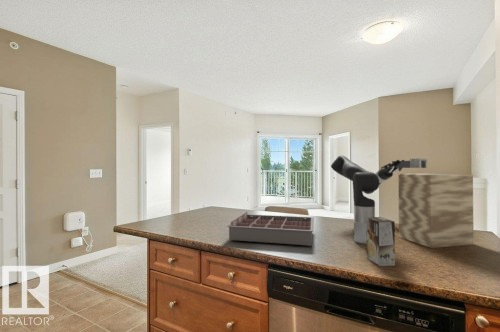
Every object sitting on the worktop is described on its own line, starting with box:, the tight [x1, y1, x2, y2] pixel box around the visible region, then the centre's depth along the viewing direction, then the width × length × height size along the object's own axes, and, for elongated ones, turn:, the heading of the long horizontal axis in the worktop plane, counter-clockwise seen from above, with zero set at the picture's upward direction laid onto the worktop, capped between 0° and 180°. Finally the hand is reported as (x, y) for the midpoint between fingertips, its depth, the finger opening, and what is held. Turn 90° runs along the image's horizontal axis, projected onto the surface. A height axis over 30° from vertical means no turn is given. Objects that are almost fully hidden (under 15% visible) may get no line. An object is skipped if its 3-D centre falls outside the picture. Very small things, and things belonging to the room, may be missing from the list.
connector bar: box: [391, 158, 428, 169], centre depth 144 cm, size 20×5×5 cm, turn 13°
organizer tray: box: [226, 211, 315, 246], centre depth 131 cm, size 32×40×10 cm
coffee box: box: [366, 216, 396, 267], centre depth 95 cm, size 9×6×16 cm
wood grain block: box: [398, 173, 475, 249], centre depth 123 cm, size 18×24×32 cm
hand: (401, 161), depth 148 cm, fingers closed on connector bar, 3 cm apart
